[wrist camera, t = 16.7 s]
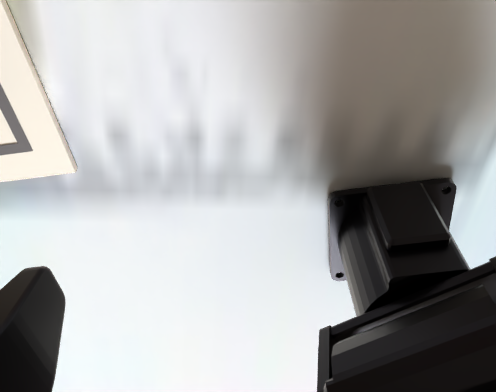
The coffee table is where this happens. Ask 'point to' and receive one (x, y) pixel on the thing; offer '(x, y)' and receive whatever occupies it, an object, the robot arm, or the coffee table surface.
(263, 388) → the coffee table surface
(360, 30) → the coffee table surface
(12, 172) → the card
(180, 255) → the coffee table surface
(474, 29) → the coffee table surface
